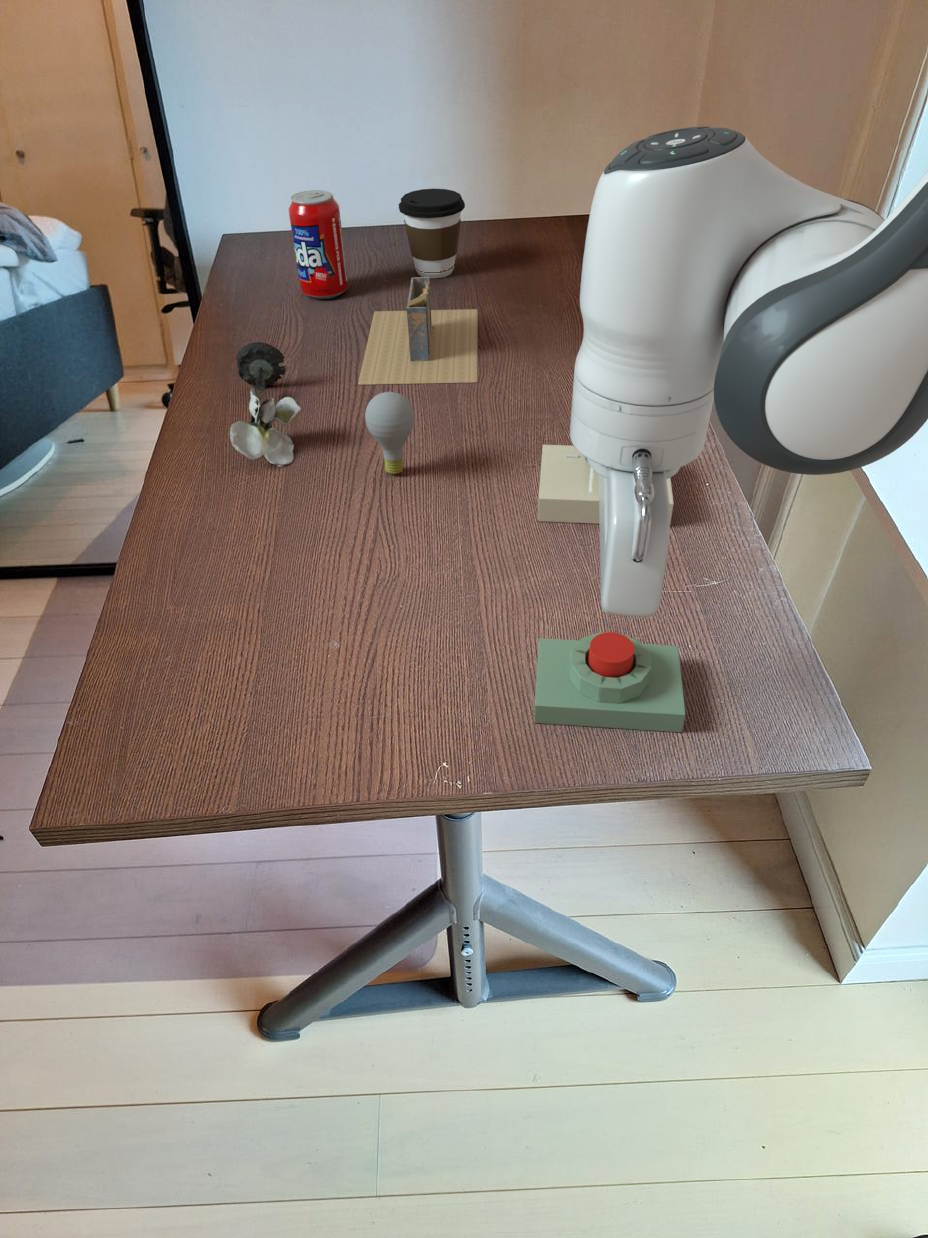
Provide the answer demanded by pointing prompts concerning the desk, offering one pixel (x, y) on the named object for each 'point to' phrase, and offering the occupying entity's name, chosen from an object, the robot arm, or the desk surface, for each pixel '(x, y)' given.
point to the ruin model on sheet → (421, 343)
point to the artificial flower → (263, 407)
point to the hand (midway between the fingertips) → (617, 579)
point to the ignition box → (609, 688)
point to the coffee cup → (432, 229)
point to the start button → (611, 654)
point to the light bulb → (390, 426)
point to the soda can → (318, 244)
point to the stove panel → (571, 487)
